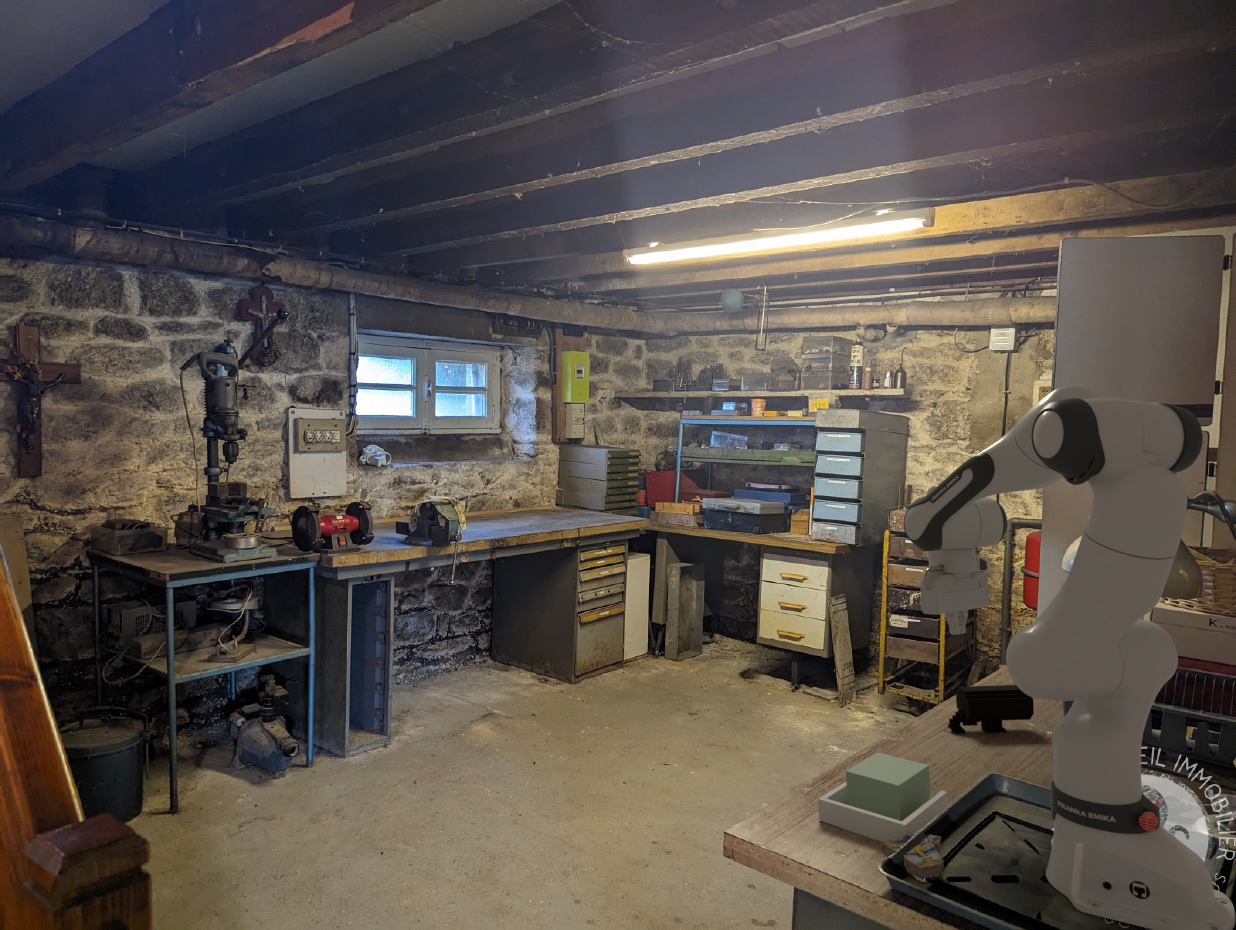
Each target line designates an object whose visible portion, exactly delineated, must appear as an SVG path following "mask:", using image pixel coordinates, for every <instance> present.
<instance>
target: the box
mask: <svg viewBox="0 0 1236 930" xmlns="http://www.w3.org/2000/svg"><path fill="white" fill-rule="evenodd" d="M817 799H818V800H817V801H818V821H819V820H821V821H824V822H828V823H830V824H832V825H834V826H833V827H835V826H838V827H840V828H839V829H841V828H842V829H841V830H844V829H845V830H844V831H847V830H848V832H851V833H854V834H857V835H861V836H864V837H867V838H869V839H872V840H874V841H877V842H881V843H883V842H884V841H888V840H893V839H897V838H901V837H905V836H909V835H914V833H916V832H917V831H918V830H920V829H921V828H923V827H924V826H925V825H926V824H927V823H928V822H930V821H931V820H932V819H934V817H935V816H936V815H938V814H939V813H941V812H942V811H943V810H944V809H946V808H947V807H948V791H944V790H940V791H938V792H937V793H936V794H934V796H933V797H930V800H929V801H927V802H926V803H925V804H923V805H922V806H921V807H920V808H918V809H917V810H916V811H915V812H913V813H912V814H911V815H909V816H908V817H907V818H906V819H904V820H903V821H899V820H895V819H892V818H889V817H886V816H882V815H879V814H876V813H872V812H869V811H866V810H863V809H859V808H856V807H853V806H849V805H847V783H846V781H845V782H842V783H841V784H839V785H838V786H836V787H834V788H833V789H831V790H830V791H828V792H827V793H826V794H824V795H822V796H820V797H819V798H817ZM948 808H949V807H948ZM832 825H831V826H832ZM838 827H837V828H838Z"/></svg>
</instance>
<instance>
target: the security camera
mask: <svg viewBox="0 0 1236 930" xmlns="http://www.w3.org/2000/svg"><path fill="white" fill-rule="evenodd" d="M955 695H956V696H955V700H956V701H955V702H956V709H957V711H955V712H954V713H955V714H953V715H951V718H948V724H947V728H948V729H950V730H951V731H952V732H953V733H954V734H955V735H958V734H959V735H960V734H961V735H962V734H966V729H965V728H963V726H964V727H968V726H969V727H970V726H971V727H973V726H978V723H980V727H981V730H982V732H983V733H985V734H997V733H998V734H1001V733H1003V734H1005V733H1007V729H1006V728H1005V727H1004V726H1003V721H1024V720H1031V718H1033V716H1034V715H1035V712H1034V709H1035V708H1034V707H1035V706H1034V698H1033V697H1030V696H1028V695H1026V694H1025V693H1024V692H1022V691H1021V690H1020V689H1019V688H1018V687H1017V685H1016V684H1007V685H1005V684H1004V685H1001V684H1000V685H972V686H957V689H956V691H955ZM961 723H962V726H961Z"/></svg>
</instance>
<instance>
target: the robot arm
mask: <svg viewBox="0 0 1236 930" xmlns="http://www.w3.org/2000/svg"><path fill="white" fill-rule="evenodd" d="M1203 437H1204V436H1203V429H1202V426H1201V423H1200V421H1199V420H1198V417H1196V415H1195V414H1193V412H1191V411H1190V410H1188V409H1186V408H1184V407H1181V406H1179V405H1176V404H1172V403H1166V402H1162V401H1161V402H1158V401H1157V402H1147V401H1142V400H1134V399H1133V400H1131V399H1124V398H1120V397H1101V396H1100V395H1099V394H1097V393H1096V392H1094V391H1092V390H1091V389H1089V388H1087V387H1084V386H1081V385H1080V386H1079V385H1064V386H1060V387H1058V388H1056V389H1054V390H1052V391H1051V392H1050V393H1048V394H1046V396H1044V397H1043V398H1041V399H1040V400H1039V401H1038V402H1036V403H1035V404H1034V405H1033V406H1032V407H1031V408H1030V409H1029V410H1027V412H1026V413H1025V414H1024V415H1023V416H1022V417H1021V418H1020V419H1019V420H1018V421H1017V423H1016V424H1015V425H1014V426H1012V428H1011V429H1010V430H1009V431H1008V432H1006V433H1005V434H1004V435H1002V436H1001V437H1000V438H998V440H996V441H995V442H994V443H992V444H991V445H989V446H987V447H986V448H984V449H983V450H981V451H979V452H978V453H976V454H974V455H973V456H971V457H969V458H968V459H967V460H966V461H964V462H962V464H960V465H959V466H958V467H957V468H956V469H955V470H953V471H952V473H950V474H949V475H948V476H947V477H946V478H945V479H944V480H942V481H941V482H940V483H938V484H935V485H933V486H931V487H930V488H929V487H928V489H927V492H926V495H925V496H921V497H918V498H916V499H915V500H914V501H913V502H911V504H910V505H909V506H908V509H906V511H905V515H904V518H903V529H904V532H905V533H904V534H905V535H906V537H907V538H908V539H909V541H910V542H911V543H912V544H913V545H914V546H916V547H917V548H918V549H919V550H921V551H922V552H927V555H928V556H927V557H928V566H927V567H926V570H925V571H924V573H923V576H922V578H921V581H920V595H919V596H920V597H919V598H920V609H921V611H922V613H923V614H925V615H944V619H945V620H946V623H947V624H948V626H949V627H948V628H949V634H950V635H953V636H954V635H956V636H957V635H963V634H966V633H967V632H966V629H967V628H966V624H967V623H966V622H967V621H968V617H969V612H968V610H975V609H981V608H986V607H988V605H989V604H988V603H989V601H990V600H989V599H990V590H989V577H988V575H987V572H988V571H989V561H988V560H987V559H985V558H983V557H981V556H980V555H978V554H977V553H976V552H977V551H976V548H988V547H993V546H997V545H998V544H999V543H1001V541H1002V540H1003V539H1004V537H1005V535H1006V533H1007V531H1008V517H1007V513H1006V511H1005V509H1004V507H1003V505H1002V504H1001V503H1000V502H999V501H998V500H996V499H994V498H991V496H994V495H1000V494H1006V493H1007V494H1008V493H1015V492H1024V491H1025V492H1026V491H1033V490H1039V489H1043V488H1046V487H1049V486H1051V485H1052V484H1054V483H1057V482H1059V481H1060V480H1062V479H1065V481H1066V482H1067V483H1068V484H1071V485H1073V486H1079V485H1082V484H1084V483H1086V482H1088V484H1089V486H1090V488H1091V491H1092V504H1091V507H1090V511H1089V514H1088V516H1087V519H1086V522H1085V525H1084V528H1083V531H1082V534H1081V538H1080V541H1079V545H1078V547H1077V551H1076V554H1075V556H1074V560H1073V562H1072V566H1071V568H1070V571H1069V573H1068V575H1067V578H1066V579H1065V581H1064V583H1063V585H1062V586H1061V588H1060V590H1059V591H1058V592H1057V594H1056V595H1055V596H1054V598H1053V599H1052V600H1051V602H1050V603H1049V604H1048V605H1047V607H1046V608H1044V611H1043V612H1042V613H1041V614H1040V615H1039V616H1038V617H1037V618H1036V619H1035V620H1034V621H1033V622H1032V623H1031V624H1030V625H1028V626H1026V628H1024V629H1023V630H1021V631H1020V632H1018V633H1017V634H1014V635H1013V637H1011V639H1010V641H1009V642H1008V645H1007V648H1006V652H1005V653H1006V654H1005V662H1006V667H1007V671H1008V674H1009V676H1010V678H1011V680H1012V681H1013V683H1014V685H1017V687H1018V688H1019V689H1020V690H1021V691H1022V692H1024V693H1025V694H1026V695H1028V696H1030V697H1032V698H1033V699H1039V700H1046V701H1047V700H1048V701H1054V702H1055V701H1057V702H1070V701H1073V702H1072V705H1071V707H1070V709H1069V710H1068V711H1067V713H1066V714H1065V715H1064V716H1063V718H1061V719H1060V720H1059V721H1058V723H1056V725H1055V726H1054V727H1053V728H1054V729H1053V731H1052V735H1051V737H1052V738H1051V742H1052V744H1051V745H1052V746H1051V747H1052V766H1053V767H1052V768H1053V781H1051V783H1050V791H1049V792H1050V797H1049V798H1050V810H1051V814H1052V819H1053V835H1052V843H1051V850H1050V855H1049V856H1050V857H1049V860H1048V863H1047V867H1046V870H1045V877H1046V879H1047V881H1048V883H1050V885H1052V886H1053V888H1054V889H1055V890H1057V891H1058V892H1060V893H1061V894H1063V895H1064V896H1065V897H1067V898H1068V899H1069V901H1070V902H1071V904H1072V905H1073V906H1074V907H1075V909H1076V910H1078V911H1080V912H1082V913H1084V914H1089V915H1093V916H1096V917H1101V918H1105V919H1109V920H1113V921H1118V922H1120V923H1126V924H1129V925H1133V926H1137V927H1141V928H1145V929H1150V930H1233V929H1234V927H1235V925H1236V912H1235V907H1234V905H1233V902H1232V900H1231V899H1230V898H1229V897H1228V896H1227V895H1226V894H1225V893H1224V892H1222V891H1220V890H1217V889H1214V887H1213V882H1212V879H1211V878H1212V877H1211V875H1210V872H1209V870H1208V867H1207V865H1206V863H1205V861H1204V860H1203V858H1202V857H1201V856H1200V855H1198V854H1197V853H1196V852H1195V851H1194V850H1192V849H1191V848H1190V847H1188V846H1187V845H1186V844H1184V842H1182V841H1181V840H1180V839H1178V838H1177V837H1175V836H1174V834H1172V833H1171V832H1169V830H1167V829H1166V828H1165V827H1163V826H1162V825H1161V814H1160V813H1161V812H1160V810H1161V808H1160V807H1161V804H1160V800H1159V799H1157V800H1155V802H1153V801H1152V800H1151V799H1149V798H1148V797H1147V796H1146V795H1145V794H1144V793H1143V791H1142V790H1143V787H1142V742H1143V735H1144V733H1145V727H1146V724H1147V720H1148V718H1149V714H1150V712H1151V710H1152V706H1153V705H1154V702H1155V700H1156V697H1157V696H1158V694H1159V692H1160V691H1161V689H1162V688H1163V687H1164V685H1166V683H1168V682H1169V681H1170V679H1171V678H1173V676H1174V674H1175V673H1176V671H1177V668H1178V665H1179V654H1178V653H1179V652H1178V650H1177V647H1176V645H1175V642H1174V640H1173V638H1172V637H1171V635H1170V634H1169V633H1168V631H1166V630H1165V628H1163V627H1162V626H1161V625H1159V624H1157V623H1155V622H1153V621H1151V620H1148V619H1147V620H1146V619H1141V618H1143V617H1144V616H1146V615H1148V614H1149V613H1151V611H1152V610H1154V609H1155V608H1156V606H1157V605H1158V604H1159V602H1160V601H1161V599H1162V595H1163V593H1164V590H1165V586H1166V583H1167V581H1168V578H1169V575H1170V572H1171V569H1172V566H1173V564H1174V560H1175V557H1176V555H1177V552H1178V549H1179V546H1180V543H1181V539H1182V536H1183V535H1182V534H1183V532H1184V527H1185V526H1184V525H1185V521H1186V515H1187V506H1188V492H1189V491H1188V488H1187V485H1186V483H1185V481H1184V480H1183V479H1182V478H1181V477H1180V476H1179V475H1178V474H1179V472H1182V471H1185V470H1187V469H1188V468H1190V467H1191V466H1192V465H1193V464H1194V463H1195V462H1196V461H1197V459H1198V457H1199V455H1200V454H1201V451H1202V448H1203V443H1204V441H1203ZM1177 473H1178V474H1177ZM989 497H990V498H989Z"/></svg>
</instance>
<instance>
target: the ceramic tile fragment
mask: <svg viewBox="0 0 1236 930" xmlns="http://www.w3.org/2000/svg"><path fill="white" fill-rule="evenodd" d="M914 835H915V834H914ZM914 835H909V836H905V837H901V838H897V839H893V840H888V841H884V842H881V843H882V844H881V845H880V846H879V850H880V853H882V854H883V855H884V856H885V857H886V858H887V857H888V856H890V855H892V854H893V853H896V852H897V850H898V849H900V847H901V846H904V844H905V843H907V841H908V840H909V839H911V837H912V836H914ZM942 838H943V836H941V835H939V836H938V835H937V834H935V835H933V834H929V836H928V837H927V838H925V839H924V841H922V842H921V843H920V844H919V845H917V846H916V847H914V848H913V849H911V850H910V851H909V852H907V854H905V855H904V866H905V868H906V871H907V872H908V874H909V873H910V874H913V875H915V876H917V877H919V878H921V879H922V880H923V879H926V878H928V877H938V878H939V876H940V875H941V872H942V871H943V869H944V867H945V862H944V858H943V859H942V858H941V855H942V854H940V853H941V851H940V850H941V841H942ZM906 871H905V872H906ZM907 872H906V873H907ZM910 874H909V875H910Z"/></svg>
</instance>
